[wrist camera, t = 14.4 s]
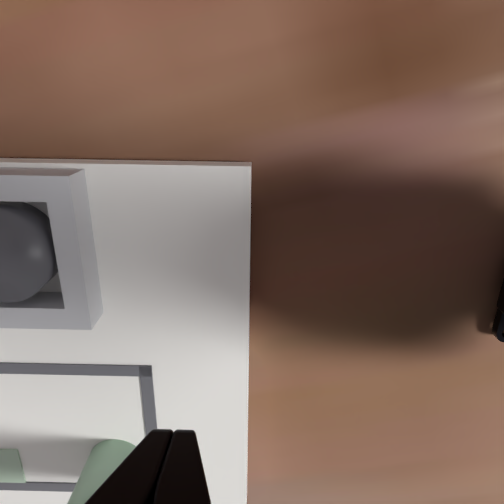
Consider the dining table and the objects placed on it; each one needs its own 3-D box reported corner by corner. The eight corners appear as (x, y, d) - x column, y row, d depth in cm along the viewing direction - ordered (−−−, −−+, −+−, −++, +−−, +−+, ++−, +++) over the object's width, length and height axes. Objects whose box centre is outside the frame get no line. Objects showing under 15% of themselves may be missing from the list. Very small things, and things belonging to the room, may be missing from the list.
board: (251, 162, 18) (250, 173, 15) (246, 499, 25) (245, 541, 23) (-219, 154, 18) (-291, 164, 16) (-86, 491, 25) (-121, 532, 23)
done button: (56, 200, 17) (38, 210, 16) (70, 287, 19) (55, 303, 17) (-40, 198, 17) (-67, 208, 16) (-19, 285, 19) (-41, 301, 17)
